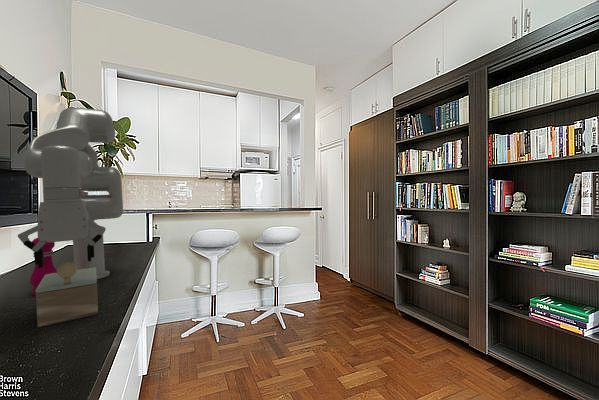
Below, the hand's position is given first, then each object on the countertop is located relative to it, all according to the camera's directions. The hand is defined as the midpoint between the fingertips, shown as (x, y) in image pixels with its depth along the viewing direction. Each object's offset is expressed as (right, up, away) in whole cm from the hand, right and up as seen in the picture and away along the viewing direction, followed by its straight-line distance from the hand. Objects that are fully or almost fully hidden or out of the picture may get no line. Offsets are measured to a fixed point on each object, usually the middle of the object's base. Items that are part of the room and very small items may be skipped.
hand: (66, 263), depth 75 cm
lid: (-4, -6, +6) cm, 10 cm away
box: (-4, -14, +7) cm, 16 cm away
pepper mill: (-25, -15, +23) cm, 37 cm away
